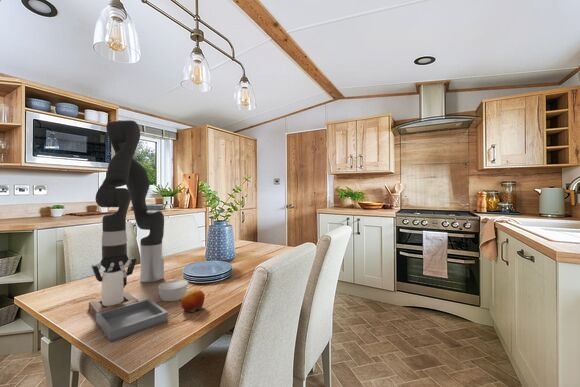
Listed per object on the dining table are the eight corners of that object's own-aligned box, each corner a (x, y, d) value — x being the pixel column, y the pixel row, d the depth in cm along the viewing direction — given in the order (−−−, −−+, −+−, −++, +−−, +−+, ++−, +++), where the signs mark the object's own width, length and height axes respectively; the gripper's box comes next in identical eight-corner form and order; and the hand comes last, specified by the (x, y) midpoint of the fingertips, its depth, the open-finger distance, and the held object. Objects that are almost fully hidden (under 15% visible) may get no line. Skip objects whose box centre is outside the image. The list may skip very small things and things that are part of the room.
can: (115, 307, 90) (114, 273, 90) (97, 306, 90) (96, 272, 90) (127, 299, 96) (127, 267, 96) (111, 298, 97) (110, 267, 96)
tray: (148, 306, 95) (148, 298, 95) (167, 321, 85) (167, 312, 85) (96, 323, 83) (96, 313, 83) (110, 342, 73) (110, 331, 73)
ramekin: (181, 289, 112) (181, 277, 112) (192, 297, 104) (192, 284, 104) (154, 296, 104) (154, 283, 104) (163, 305, 96) (163, 291, 96)
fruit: (194, 313, 87) (186, 290, 89) (181, 320, 91) (174, 298, 93) (213, 304, 94) (205, 283, 96) (200, 311, 97) (193, 290, 100)
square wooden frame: (127, 298, 103) (127, 291, 103) (138, 307, 94) (138, 300, 94) (88, 308, 93) (88, 301, 93) (97, 320, 85) (97, 312, 85)
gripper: (132, 238, 101) (133, 281, 102) (87, 244, 91) (88, 292, 91) (139, 241, 97) (140, 286, 97) (93, 247, 86) (93, 298, 86)
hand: (115, 289), depth 94 cm, fingers closed on can, 4 cm apart
